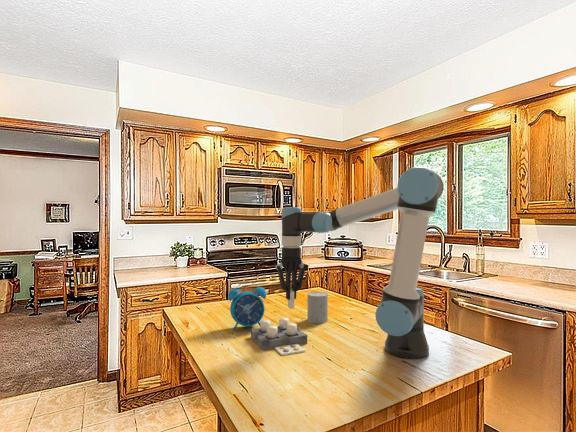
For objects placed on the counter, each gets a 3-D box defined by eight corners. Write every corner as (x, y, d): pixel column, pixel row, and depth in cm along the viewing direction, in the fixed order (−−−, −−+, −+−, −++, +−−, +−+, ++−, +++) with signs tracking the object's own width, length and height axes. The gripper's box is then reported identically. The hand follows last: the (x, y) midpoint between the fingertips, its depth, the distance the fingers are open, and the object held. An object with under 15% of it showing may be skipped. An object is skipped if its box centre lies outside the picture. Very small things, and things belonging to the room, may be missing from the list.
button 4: (298, 334, 135) (298, 325, 135) (288, 335, 134) (288, 326, 134) (294, 331, 139) (294, 322, 139) (285, 332, 137) (284, 323, 137)
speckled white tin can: (327, 317, 168) (327, 291, 168) (328, 323, 159) (328, 296, 159) (307, 317, 169) (307, 291, 169) (306, 323, 160) (306, 296, 160)
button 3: (290, 328, 143) (290, 319, 142) (281, 329, 141) (281, 320, 141) (286, 325, 146) (286, 317, 146) (277, 326, 145) (277, 318, 145)
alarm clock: (229, 333, 146) (229, 285, 146) (227, 325, 156) (227, 280, 156) (269, 330, 150) (268, 283, 150) (264, 322, 160) (264, 279, 160)
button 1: (271, 330, 139) (271, 322, 139) (262, 332, 138) (262, 323, 138) (268, 327, 143) (268, 319, 143) (259, 329, 142) (259, 320, 142)
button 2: (279, 337, 132) (279, 328, 132) (269, 338, 131) (268, 329, 131) (275, 334, 136) (275, 325, 136) (265, 335, 134) (265, 326, 134)
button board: (307, 343, 135) (307, 335, 135) (262, 350, 128) (262, 341, 128) (292, 331, 149) (292, 324, 149) (250, 336, 142) (250, 329, 142)
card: (304, 351, 126) (304, 349, 126) (281, 355, 123) (281, 353, 123) (297, 345, 133) (297, 342, 133) (274, 348, 129) (274, 346, 129)
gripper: (302, 245, 142) (302, 303, 142) (272, 246, 137) (271, 306, 137) (310, 247, 135) (310, 308, 135) (279, 248, 130) (278, 311, 130)
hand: (291, 307), depth 136 cm, fingers closed
